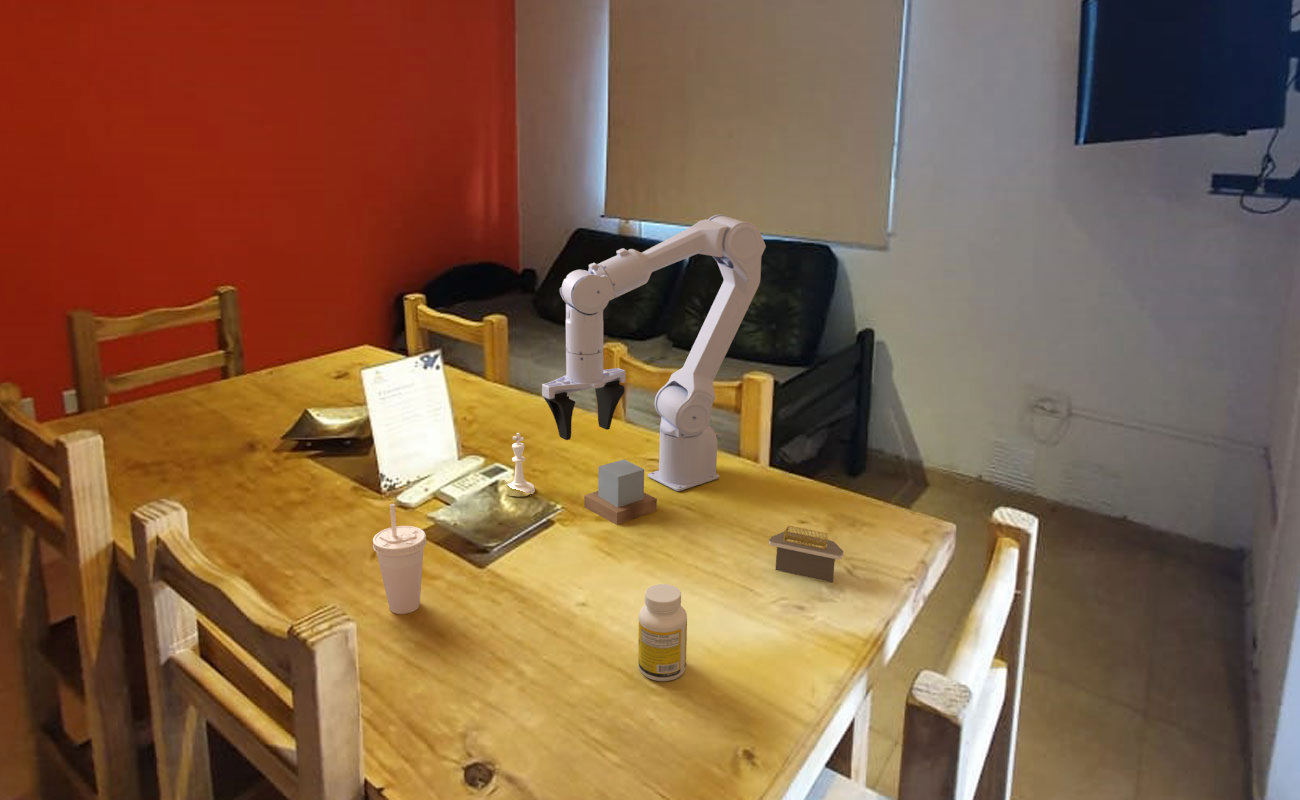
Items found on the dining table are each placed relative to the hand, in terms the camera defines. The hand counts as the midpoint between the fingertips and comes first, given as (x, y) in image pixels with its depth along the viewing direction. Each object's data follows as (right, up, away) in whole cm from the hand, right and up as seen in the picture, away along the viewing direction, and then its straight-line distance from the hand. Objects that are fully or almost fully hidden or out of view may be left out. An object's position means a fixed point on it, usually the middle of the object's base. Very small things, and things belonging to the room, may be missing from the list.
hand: (584, 432), depth 147 cm
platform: (+31, -19, -20) cm, 42 cm away
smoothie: (-21, -21, -30) cm, 42 cm away
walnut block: (+6, -12, -2) cm, 14 cm away
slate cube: (+6, -10, -3) cm, 12 cm away
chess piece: (-11, -10, +4) cm, 15 cm away
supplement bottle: (+12, -25, -41) cm, 50 cm away
